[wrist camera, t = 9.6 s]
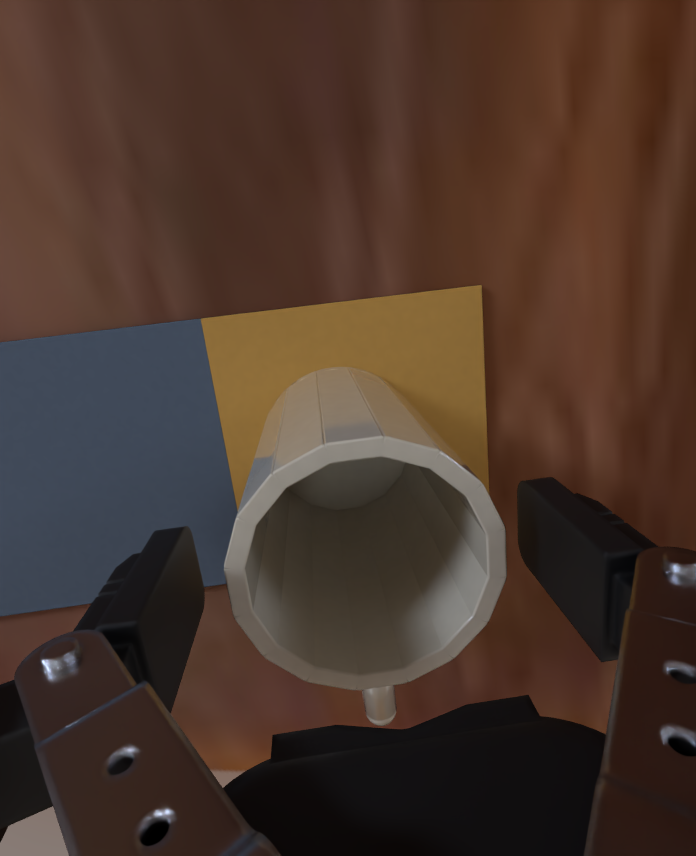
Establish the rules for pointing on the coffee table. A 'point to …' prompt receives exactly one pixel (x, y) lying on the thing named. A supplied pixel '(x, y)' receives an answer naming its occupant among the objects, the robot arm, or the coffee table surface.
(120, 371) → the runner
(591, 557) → the robot arm
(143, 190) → the coffee table surface
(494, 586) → the mug
